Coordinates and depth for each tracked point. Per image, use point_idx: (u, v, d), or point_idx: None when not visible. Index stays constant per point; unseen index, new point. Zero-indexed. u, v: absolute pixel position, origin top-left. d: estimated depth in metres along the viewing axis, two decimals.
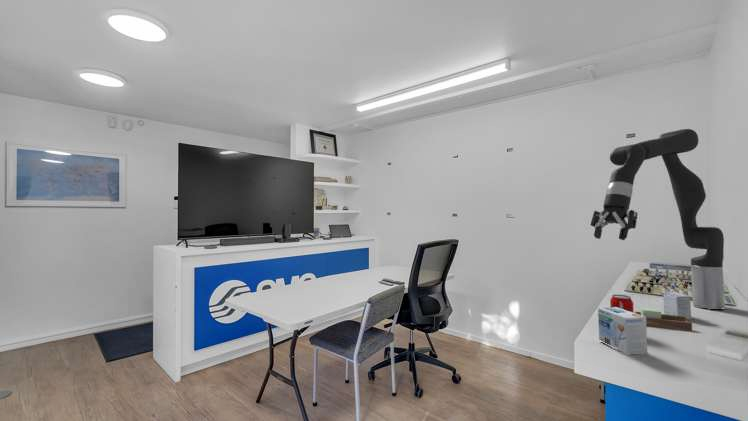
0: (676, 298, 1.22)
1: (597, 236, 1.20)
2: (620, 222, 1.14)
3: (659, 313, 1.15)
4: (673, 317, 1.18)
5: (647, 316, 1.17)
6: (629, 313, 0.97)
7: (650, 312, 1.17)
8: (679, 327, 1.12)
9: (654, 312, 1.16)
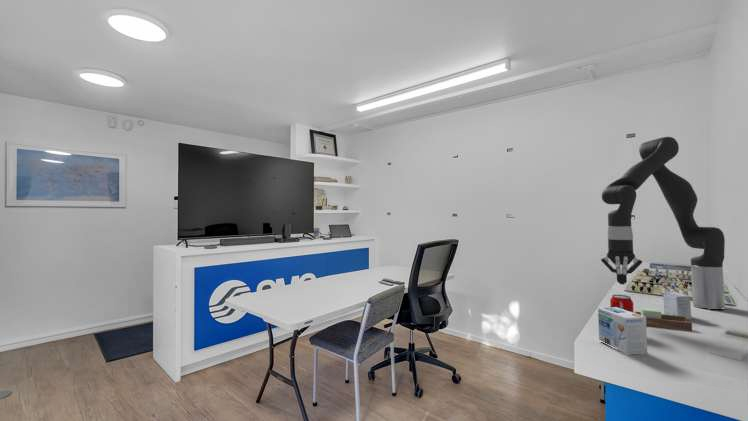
0: (676, 298, 1.22)
1: None
2: (624, 268, 1.21)
3: (659, 313, 1.15)
4: (673, 317, 1.18)
5: (647, 316, 1.17)
6: (629, 313, 0.97)
7: (650, 312, 1.17)
8: (679, 327, 1.12)
9: (654, 312, 1.16)
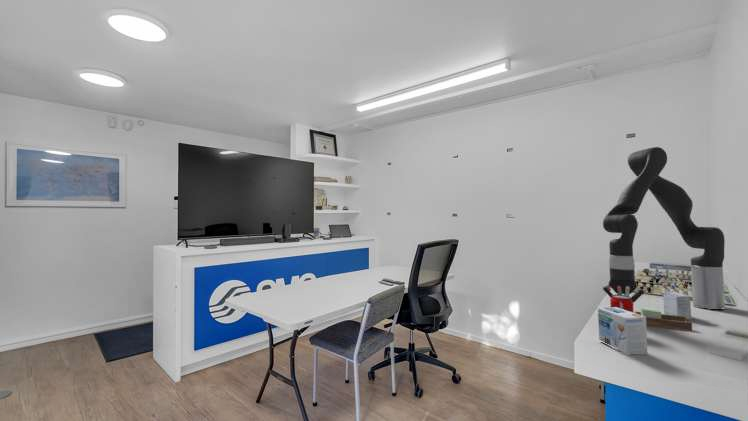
0: (676, 298, 1.22)
1: None
2: None
3: (659, 313, 1.15)
4: (673, 317, 1.18)
5: (647, 316, 1.17)
6: (629, 313, 0.97)
7: (650, 312, 1.17)
8: (679, 327, 1.12)
9: (654, 312, 1.16)
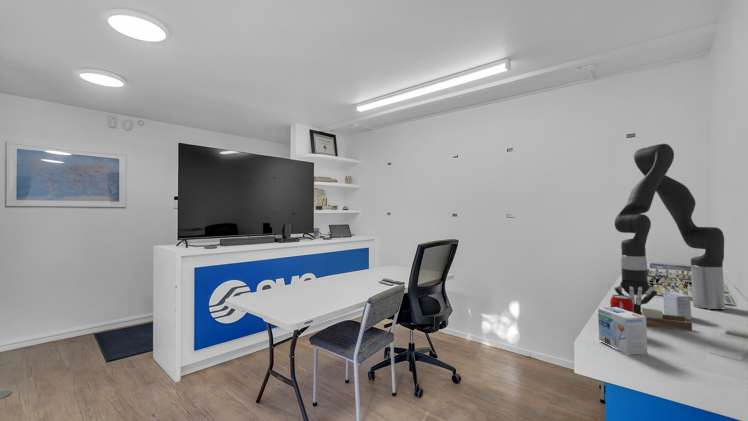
0: (676, 298, 1.22)
1: None
2: (639, 298, 1.19)
3: (661, 313, 1.15)
4: (673, 317, 1.18)
5: (648, 316, 1.17)
6: (629, 313, 0.97)
7: (651, 312, 1.17)
8: (679, 327, 1.12)
9: (655, 312, 1.16)
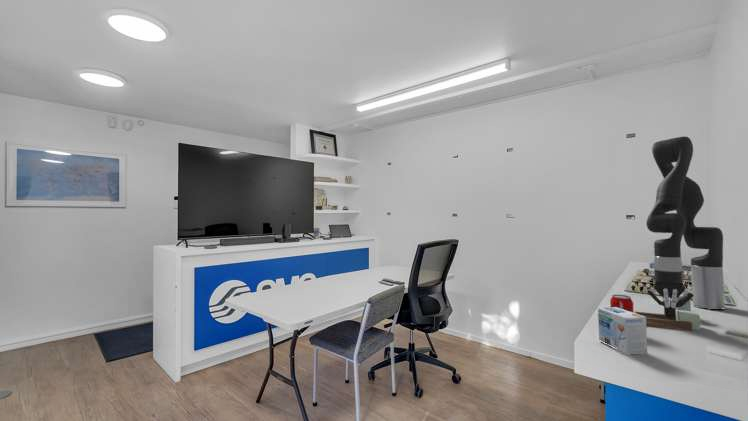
0: None
1: None
2: (673, 301, 1.14)
3: (698, 317, 1.10)
4: None
5: (684, 320, 1.12)
6: (629, 313, 0.97)
7: (687, 315, 1.11)
8: (679, 327, 1.12)
9: (692, 316, 1.11)
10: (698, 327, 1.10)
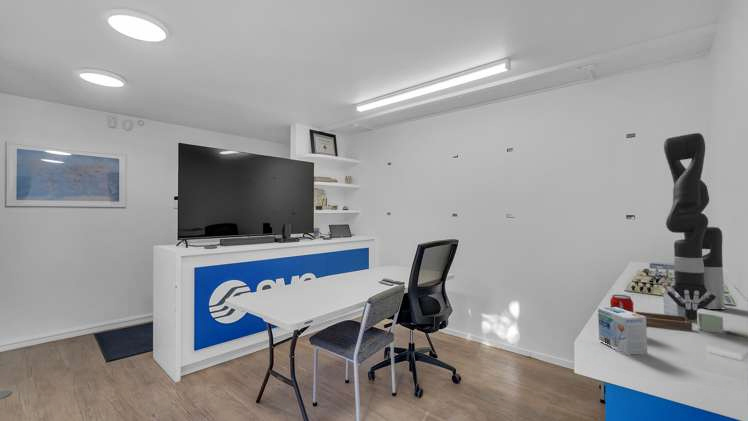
0: None
1: None
2: (695, 303, 1.12)
3: (721, 319, 1.07)
4: (673, 317, 1.18)
5: (706, 322, 1.09)
6: (629, 313, 0.97)
7: (710, 318, 1.09)
8: (679, 327, 1.12)
9: (715, 318, 1.08)
10: (721, 330, 1.07)
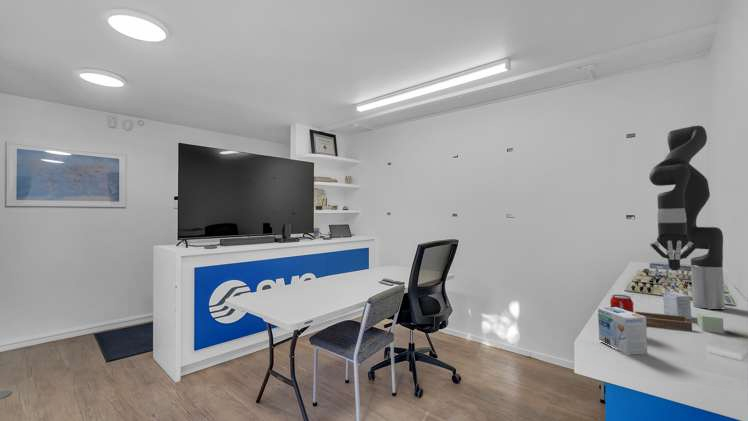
0: (676, 298, 1.22)
1: None
2: (678, 253, 1.14)
3: (721, 320, 1.07)
4: (673, 317, 1.18)
5: (707, 322, 1.09)
6: (629, 313, 0.97)
7: (710, 318, 1.08)
8: (679, 327, 1.12)
9: (715, 318, 1.08)
10: (721, 330, 1.07)
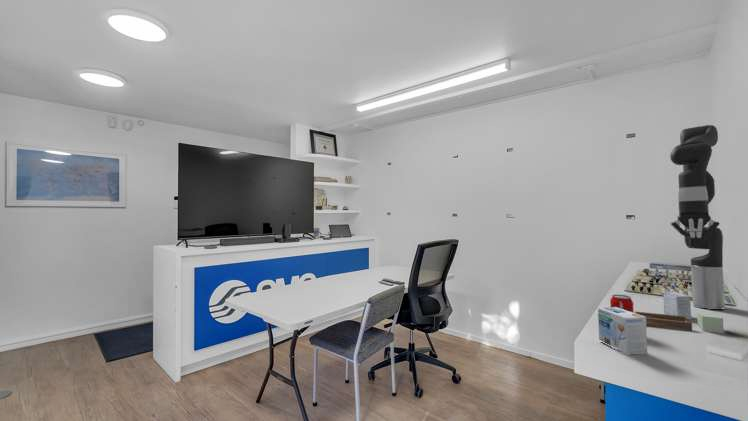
0: (676, 298, 1.22)
1: None
2: (699, 231, 1.15)
3: (721, 320, 1.07)
4: (673, 317, 1.18)
5: (707, 322, 1.09)
6: (629, 313, 0.97)
7: (710, 318, 1.08)
8: (679, 327, 1.12)
9: (715, 318, 1.08)
10: (721, 330, 1.07)
